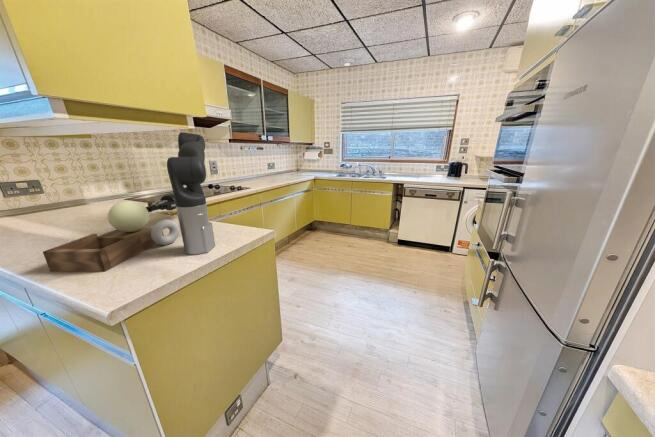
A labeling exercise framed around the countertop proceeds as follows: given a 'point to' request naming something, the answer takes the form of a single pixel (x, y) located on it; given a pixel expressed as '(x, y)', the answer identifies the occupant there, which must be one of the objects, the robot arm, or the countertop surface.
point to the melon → (128, 216)
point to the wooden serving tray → (98, 251)
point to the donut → (159, 227)
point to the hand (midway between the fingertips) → (147, 209)
